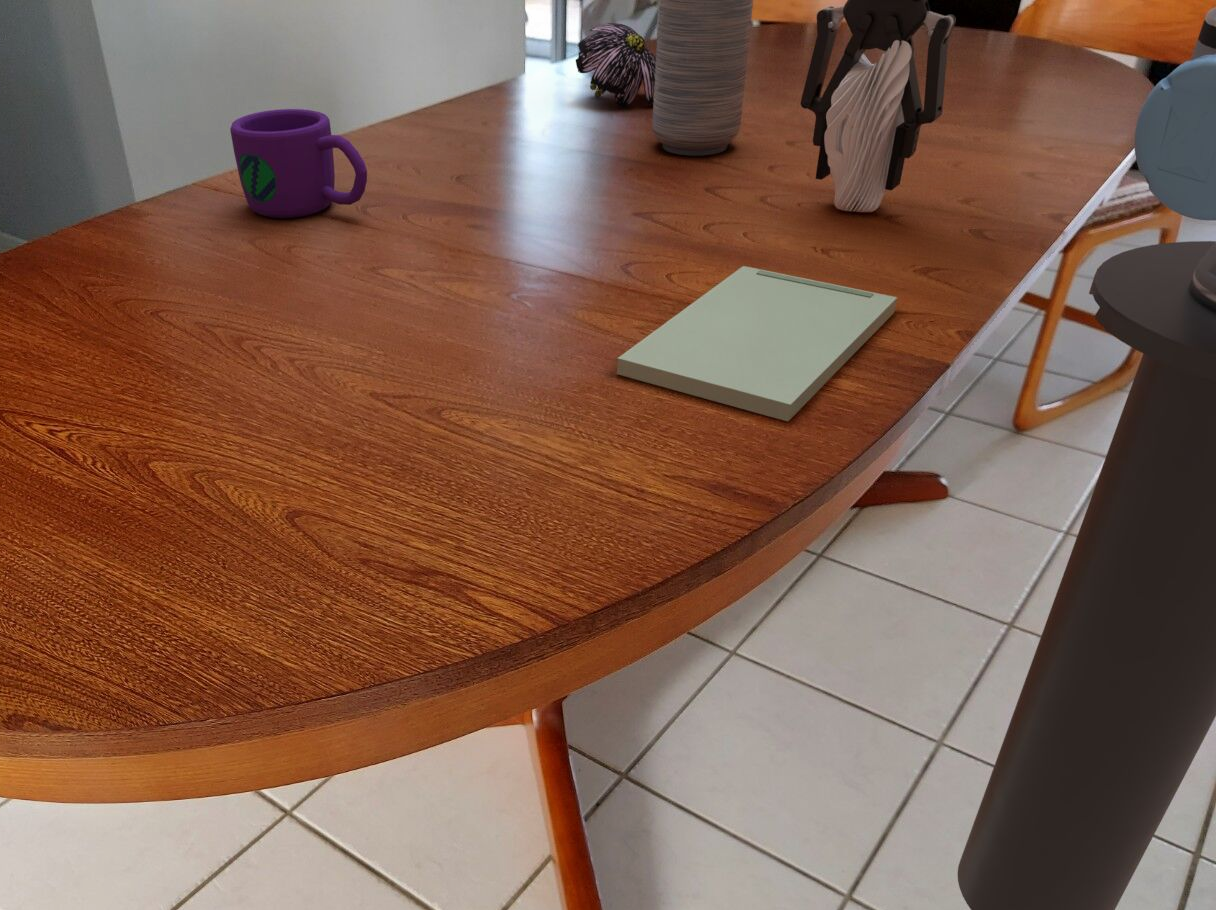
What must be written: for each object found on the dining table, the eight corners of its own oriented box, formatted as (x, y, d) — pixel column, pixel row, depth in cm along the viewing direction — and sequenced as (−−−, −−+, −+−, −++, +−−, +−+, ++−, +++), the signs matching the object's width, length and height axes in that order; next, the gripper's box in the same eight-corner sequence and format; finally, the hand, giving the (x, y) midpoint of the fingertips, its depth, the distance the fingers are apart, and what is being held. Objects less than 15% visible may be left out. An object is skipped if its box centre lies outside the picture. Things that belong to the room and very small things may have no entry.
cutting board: (741, 280, 101) (743, 264, 100) (894, 312, 94) (897, 295, 93) (616, 374, 86) (617, 356, 85) (788, 422, 79) (791, 402, 78)
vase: (656, 160, 135) (667, -40, 122) (646, 137, 145) (655, -51, 131) (745, 157, 135) (766, -43, 122) (730, 134, 144) (748, -55, 131)
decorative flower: (617, 46, 148) (576, -1, 157) (585, 122, 156) (547, 73, 164) (696, 64, 155) (653, 18, 164) (662, 136, 163) (622, 89, 171)
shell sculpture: (819, 194, 122) (844, 26, 111) (893, 200, 119) (925, 28, 109) (810, 217, 116) (835, 41, 105) (888, 223, 113) (921, 43, 103)
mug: (224, 214, 123) (208, 126, 117) (286, 187, 131) (273, 104, 125) (340, 235, 116) (329, 143, 110) (398, 206, 124) (391, 118, 118)
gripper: (1013, -55, 100) (959, 185, 113) (813, -62, 110) (785, 160, 123) (992, -45, 95) (938, 205, 108) (785, -53, 105) (759, 176, 118)
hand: (857, 181), depth 116 cm, fingers open, 7 cm apart
